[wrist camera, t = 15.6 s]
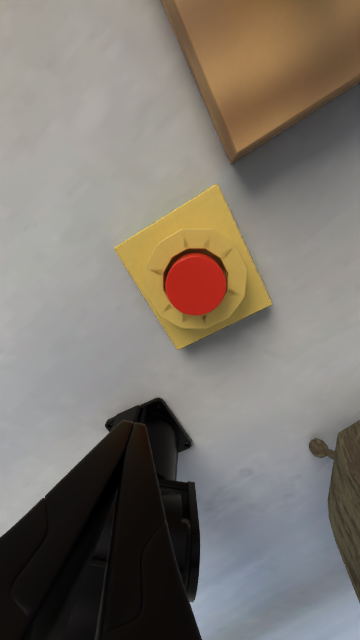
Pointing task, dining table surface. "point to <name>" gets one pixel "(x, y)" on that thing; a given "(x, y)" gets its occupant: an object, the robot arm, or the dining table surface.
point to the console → (266, 61)
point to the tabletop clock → (345, 497)
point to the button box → (195, 237)
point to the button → (195, 284)
